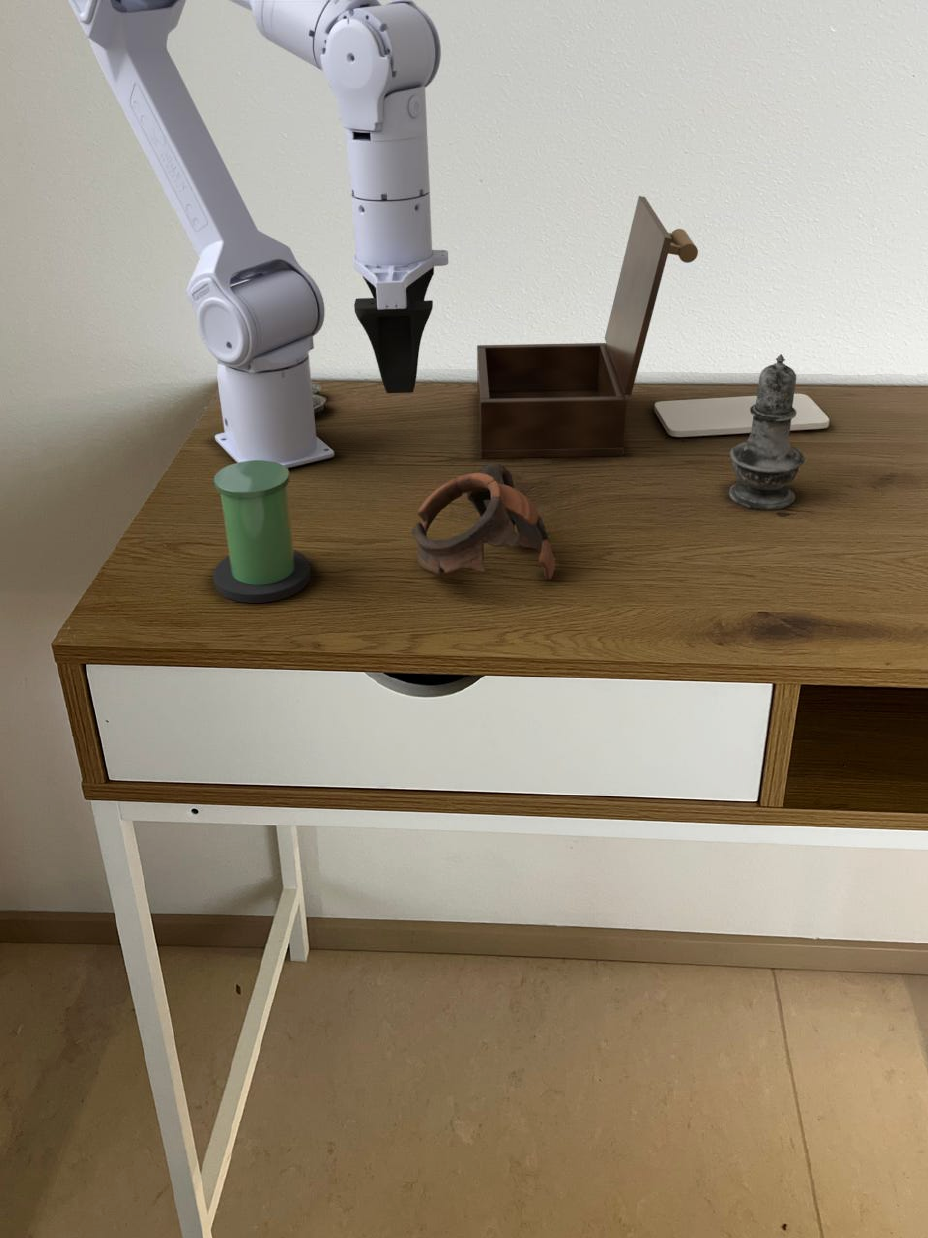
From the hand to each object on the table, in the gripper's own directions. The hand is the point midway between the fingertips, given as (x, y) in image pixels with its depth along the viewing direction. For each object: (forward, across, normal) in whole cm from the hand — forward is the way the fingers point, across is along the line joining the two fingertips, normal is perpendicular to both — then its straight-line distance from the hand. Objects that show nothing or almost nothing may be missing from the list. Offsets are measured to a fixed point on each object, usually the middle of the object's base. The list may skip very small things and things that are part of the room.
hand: (401, 373), depth 90 cm
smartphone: (+11, +14, -31) cm, 35 cm away
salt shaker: (+11, -2, -29) cm, 31 cm away
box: (+10, +14, -12) cm, 21 cm away
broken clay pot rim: (+11, -12, -6) cm, 17 cm away
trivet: (+10, -14, +10) cm, 20 cm away
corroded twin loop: (+10, +20, +11) cm, 25 cm away
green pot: (+10, -14, +10) cm, 19 cm away
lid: (-2, +14, -20) cm, 24 cm away
